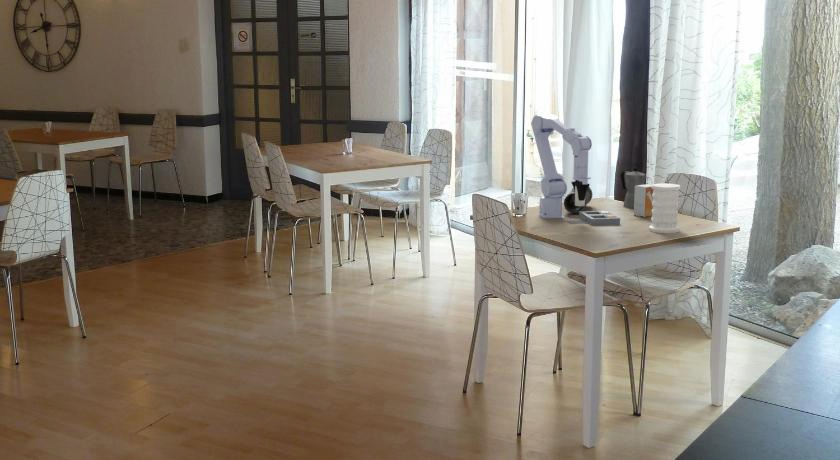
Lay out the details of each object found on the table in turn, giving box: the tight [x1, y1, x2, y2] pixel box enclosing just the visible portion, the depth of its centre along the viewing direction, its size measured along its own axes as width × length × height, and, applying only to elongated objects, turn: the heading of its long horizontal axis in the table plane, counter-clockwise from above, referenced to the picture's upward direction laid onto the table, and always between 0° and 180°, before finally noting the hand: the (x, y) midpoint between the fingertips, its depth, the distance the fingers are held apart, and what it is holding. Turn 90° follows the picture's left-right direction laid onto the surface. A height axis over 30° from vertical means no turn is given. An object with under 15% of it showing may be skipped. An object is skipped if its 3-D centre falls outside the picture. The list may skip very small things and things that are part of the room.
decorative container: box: [648, 182, 681, 234], centre depth 368 cm, size 12×12×18 cm
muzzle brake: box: [563, 186, 593, 215], centre depth 414 cm, size 10×28×10 cm, turn 163°
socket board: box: [578, 210, 621, 226], centre depth 388 cm, size 12×18×3 cm, turn 6°
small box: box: [633, 183, 653, 218], centre depth 401 cm, size 8×6×13 cm
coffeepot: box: [619, 166, 648, 209], centre depth 423 cm, size 15×9×18 cm, turn 33°
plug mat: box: [566, 219, 588, 225], centre depth 385 cm, size 7×7×1 cm
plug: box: [575, 186, 586, 207], centre depth 383 cm, size 4×4×8 cm
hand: (579, 199), depth 383 cm, fingers closed on plug, 4 cm apart
